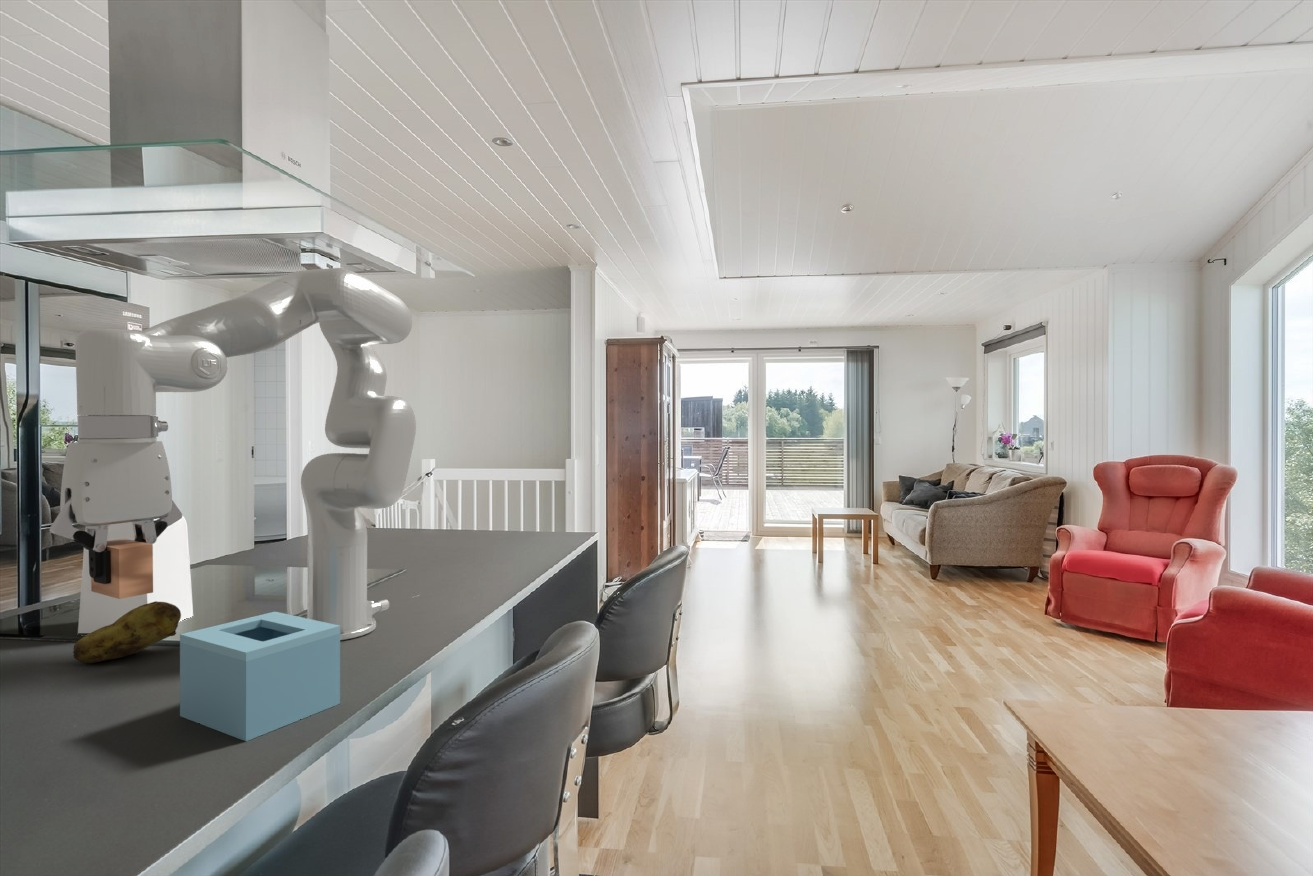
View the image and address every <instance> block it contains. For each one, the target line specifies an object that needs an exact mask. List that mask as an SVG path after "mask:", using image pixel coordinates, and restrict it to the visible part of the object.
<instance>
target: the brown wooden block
mask: <svg viewBox="0 0 1313 876" xmlns="http://www.w3.org/2000/svg"><path fill="white" fill-rule="evenodd" d="M106 545H107V550H109V551H110V555H111V583H109V584H101V583H97V582H94V580H93V578H91V591H92V592H96V593H99V594H103V595H107V596H110V597H114V598H117V599H123V598H128V597H133V596H138V595H143V594H148V593H153V544H149V543H144V542H138V541H133V540H128V539H119V540H111V541H107V544H106Z"/></svg>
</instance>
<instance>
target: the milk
mask: <svg viewBox="0 0 1313 876" xmlns="http://www.w3.org/2000/svg"><path fill="white" fill-rule="evenodd" d="M158 519H159V518H158ZM155 520H157V519H154V521H155ZM188 532H189V530H188V523H187V520H186V518H185V516H184V515H183V514H182V518H181V519H180V520H178V521H176V522H175V523H173V524H172V525H170V526H168V527H167V528H166V529H165V530H164V531H163V532H162V533H161V534H160V535H159V536H158V537H157V540H156V542H155V543H154V544H153V593H148V594H143V595H138V596H133V597H128V598H123V599H117V598H114V597H110V596H107V595H103V594H99V593H96V592H92V591H91V577H90V574H89V550H86V549H85V548H84V547H83V553H82V554H83V555H82V559H83V560H82V570H81V582H80V583H81V585H80V597H79V598H80V599H79V613H78V624H77V625H78V626H77V634H78V633H92V632H94V631H96V630H98V629H100V628H102V627H105V626H108V625H111V624H113V623H114V622H115V621H116V620H118V619H119V618H120V617H122V616H123V615H125V614H126V613H128V612H129V611H131V610H132V609H135V608H137V607H139V606H142V605H144V604H148V603H152V602H155V601H157V602H167V603H170V604H173V605H175V606H176V607H178V608H179V610H180V612H181V618H180V621H181V622H183V621H182V620H184V619H186V618H189V619H191V618H193V617H194V607H193V591H192V579H191V578H192V575H191V562H190V561H191V559H190V545H189V533H188ZM119 539H128V540H133V541H134V540H135V536H134V530H133V524H132V522H127V523H119V524H110V525H109V527H108V536H107V541H111V540H119ZM192 616H193V617H192ZM190 617H191V618H190ZM186 620H187V619H186ZM180 621H179V623H181V622H180ZM184 621H185V620H184Z"/></svg>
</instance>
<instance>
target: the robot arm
mask: <svg viewBox="0 0 1313 876" xmlns="http://www.w3.org/2000/svg"><path fill="white" fill-rule="evenodd" d="M318 323H319V327H320V331H321V333H322V335H323V337H324V338H325V340H326V341H327V344H329V347H330V348H331V351H332V353H333V355H334V358H335V360H336V366H337V370H336V375H335V376H336V377H335V381H334V382H335V383H334V386H333V391H332V394H331V398H330V403H329V406H328V410H327V412H326V413H327V414H326V419H325V423H324V425H325V426H324V431H325V432H324V433H325V436H326V438H327V440H328V441H329V442H330V443H331V444H333V445H335V446H337V447H340V448H346V449H369V451H368V453H350V452H338V453H337V452H335V453H334V452H333V453H332V452H331V453H324V454H320V455H318V456H316V457H313V458H312V459H310V460H309V461H308V462H307V464H306V465H305V466H304V467H303V470H302V472H301V476H300V478H301V479H300V488H301V495H302V498H303V501H304V502H303V503H304V506H305V507H304V508H305V513H306V522H307V523H306V524H307V525H306V526H307V593H306V594H307V609H306V611H307V614H306V615H307V616H306V618H307V619H312V620H316V621H321V622H325V623H330V624H334V625H339V626H340V641H343V640H349V639H355V638H358V637H362V636H365V635H367V634H369V633H371V632H373V631H375V629H376V628H377V621H376V620H377V619H375V618H374V617H373V616H374V615H375V614H376V613H377V612H383V611H386V610H388V609H389V608H390V601H389V600H388V599H382V600H378V601H375V602H374V601H373V600H368V530H367V529H368V528H367V525H366V522H365V519H364V517H363V514H362V513H361V511H360V509H367V510H369V509H372V510H373V509H374V510H377V509H379V510H381V509H386V508H391V506H394V504H396V503H397V502H398V500H399V499H400V498H401V496H402V493H403V491H404V488H405V484H406V480H407V476H408V471H409V466H410V462H411V457H412V453H413V449H414V443H415V438H416V434H417V433H416V432H417V420H416V416H415V412H414V410H413V408H412V405H410V403H408V401H407V400H405V399H403V398H401V397H398V396H396V395H395V396H394V395H385V391H386V386H387V380H388V378H387V377H388V375H387V370H386V367H385V364H384V362H383V361H382V359H381V358H380V356H379V355H378V353H377V351H376V350H375V348H374V347H373V345H393V344H397V343H400V342H402V341H404V340H405V339H406V338H407V337H408V336H409V335H410V334H411V332H412V327H413V319H412V314H411V311H410V309H409V308H408V306H407V304H406V303H405V302H404V301H403V300H402V299H401V298H400V297H398V296H397V294H394V293H393V292H391V291H389V290H387V289H386V288H384V287H383V286H380V285H379V284H378V283H376V282H374V281H373V280H370V279H369V278H368V277H365V275H361V274H359V273H357V272H356V271H352V270H350V269H348V268H343V267H332V268H331V267H330V268H319V269H318V268H317V269H306V270H305V269H304V270H299V271H298V270H297V271H294V272H293V271H292V272H290V273H289V274H285V275H283V276H282V277H279V278H277V279H274V280H272V281H270V282H268V283H266V284H264V285H262V286H260V287H258V288H256V289H253V290H251V291H249V292H247V293H245V294H242V295H240V296H238V297H235V298H231V299H229V300H226V301H222V302H219V303H215V304H213V305H211V306H207V307H205V308H201V309H198V310H196V311H195V310H194V311H192V312H189V313H186V314H183V315H182V314H181V315H179V316H176V317H173V318H170V319H168V320H164V321H162V322H160V323H158V324H155V325H152V326H151V327H147V329H144V330H142V331H137V330H136V331H135V330H132V329H129V330H128V329H123V328H121V329H120V328H100V327H98V328H87V329H83V330H81V331H80V332H79V333H78V334H77V336H76V338H75V371H76V372H75V374H76V376H75V377H76V378H75V381H76V411H77V415H76V416H77V442H69V443H68V445H67V449H66V452H65V453H66V454H65V456H64V457H65V458H64V462H63V463H64V464H63V470H62V478H61V487H60V501H59V502H60V503H59V505H60V506H59V507H60V512H59V513H58V515H57V516H56V518H55V519H54V521H53V522H52V524H51V525H50V527H49V532H50V533H51V534H53V535H57V536H60V537H63V538H67V539H69V540H70V539H71V540H72V541H74V542H75V543H77V544H78V545H80V546H82V547H83V549H84V548H85V549H86V550H89V574H90V577H91V578H93V580H94V582H97V583H101V584H109V583H111V555H110V551H109V550H107V545H106V544H107V536H108V527H109V525H110V524H119V523H127V522H132V524H133V530H134V536H135V540H134V541H138V542H144V543H149V544H154V543H155V542H156V540H157V537H158V536H159V535H160V534H161V533H162V532H163V531H164V530H165V529H166V528H167V527H168V526H170V525H172V524H173V523H175V522H176V521H178V520H180V519H181V518H182V515H183V513H182V511H181V510H180V509H179V508H178V506H177V505H176V503H175V502H174V500H173V489H172V481H171V473H170V468H169V462H168V457H167V453H166V449H165V447H164V444H163V441H162V440H159V441H158V437H159V434H160V433H161V432H167V431H168V430H169V423H168V422H167V421H165V420H163V421H161V420H159V417H158V416H157V396H156V395H157V394H156V393H192V392H193V393H196V392H197V393H198V392H202V391H207V390H210V389H212V388H214V387H216V386H217V385H219V384H220V383H221V382H222V381H223V380H224V378H225V377H226V375H227V372H228V369H229V367H228V366H229V364H228V359H227V358H233V357H238V356H246V355H251V354H257V353H259V352H263V351H267V350H269V349H273V348H275V347H278V346H279V345H280V344H282V343H284V342H285V341H287V340H289V339H291V338H292V337H294V336H296V335H298V334H299V333H301V332H303V331H305V330H306V329H309V328H310V327H312V326H313V325H315V324H318ZM158 518H159V519H158ZM154 519H157V520H155V521H154ZM78 524H79V525H80V526H81V525H82V526H84V528H85V529H84V530H83V529H82V530H81V529H79V528H77V527H74V526H73V525H78Z"/></svg>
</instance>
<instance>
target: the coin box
mask: <svg viewBox="0 0 1313 876" xmlns="http://www.w3.org/2000/svg"><path fill="white" fill-rule="evenodd" d="M340 704H341V640H340V626H339V625H334V624H330V623H325V622H321V621H316V620H312V619H307V617H302V616H297V615H292V614H287V613H284V612H280V611H272V612H268V613H267V612H266V613H264V614H259V615H254V616H251V617H246V618H243V619H239V620H234V621H230V622H229V621H228V622H225V623H222V624H218V625H214V626H210V627H209V626H208V627H206V628H205V627H204V628H201V629H195V630H192V631H188V632H184V633H180V634H179V716H180V717H181V718H184V719H186V720H189V721H192V722H194V723H197V724H199V723H200V725H202V726H205V727H207V728H210V729H213V730H216V731H218V732H220V733H223V734H226V735H228V736H231V737H233V738H236V739H238V740H241V741H244V742H248V741H251V740H253V739H256V738H258V737H261V736H263V735H266V734H268V733H271V732H273V731H276V730H279V729H280V728H283V727H285V726H288V725H290V724H292V723H295V722H298V721H301V720H302V719H305V718H308V717H310V715H311V716H314V715H315V714H318V713H320V712H323V711H326V710H328V709H330V708H333V707H335V706H338V705H340ZM300 719H301V720H300Z"/></svg>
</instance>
